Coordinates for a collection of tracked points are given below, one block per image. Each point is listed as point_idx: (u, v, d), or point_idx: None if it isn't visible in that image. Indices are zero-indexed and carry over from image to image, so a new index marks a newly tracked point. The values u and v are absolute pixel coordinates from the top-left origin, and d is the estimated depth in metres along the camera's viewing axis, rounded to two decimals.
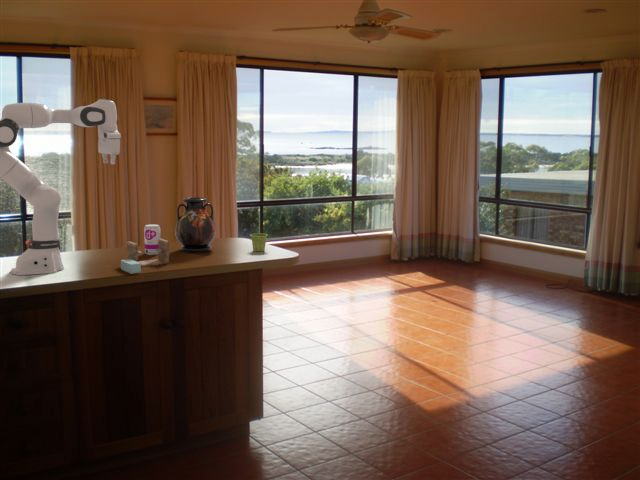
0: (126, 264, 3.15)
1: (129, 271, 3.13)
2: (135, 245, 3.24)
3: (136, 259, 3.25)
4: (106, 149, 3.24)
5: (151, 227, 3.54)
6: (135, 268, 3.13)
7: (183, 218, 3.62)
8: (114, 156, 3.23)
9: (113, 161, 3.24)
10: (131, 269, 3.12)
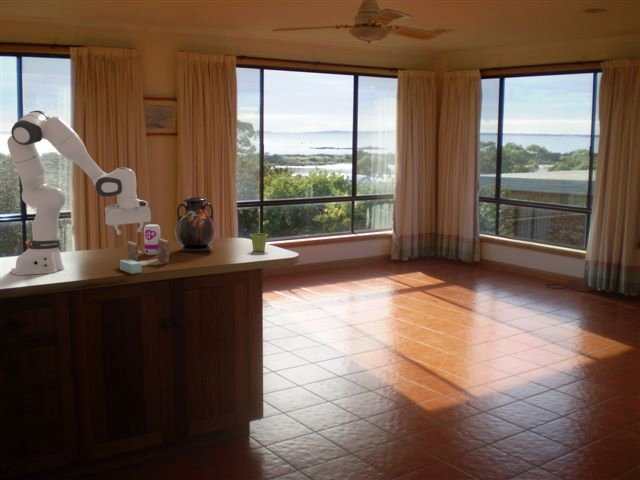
0: (126, 264, 3.15)
1: (130, 271, 3.13)
2: (135, 245, 3.24)
3: (136, 259, 3.25)
4: (135, 218, 3.14)
5: (151, 227, 3.54)
6: (136, 268, 3.13)
7: (183, 218, 3.62)
8: None
9: None
10: (132, 269, 3.12)
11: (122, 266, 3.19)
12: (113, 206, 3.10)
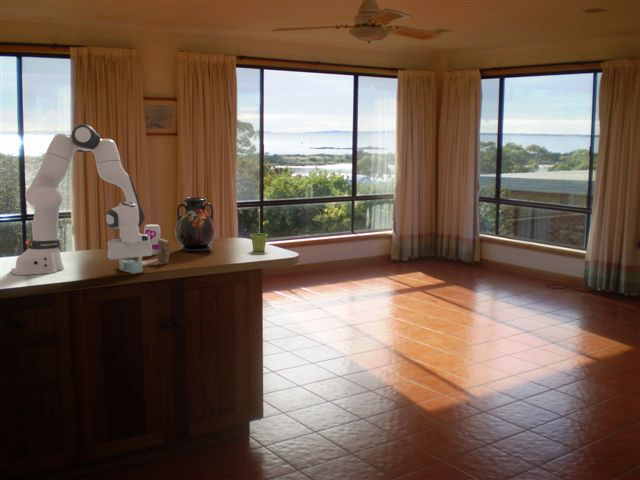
0: (127, 264, 3.15)
1: (131, 271, 3.13)
2: None
3: (136, 259, 3.25)
4: (137, 252, 3.17)
5: (151, 227, 3.54)
6: (137, 268, 3.13)
7: (183, 218, 3.62)
8: None
9: None
10: (134, 269, 3.12)
11: None
12: (116, 240, 3.11)
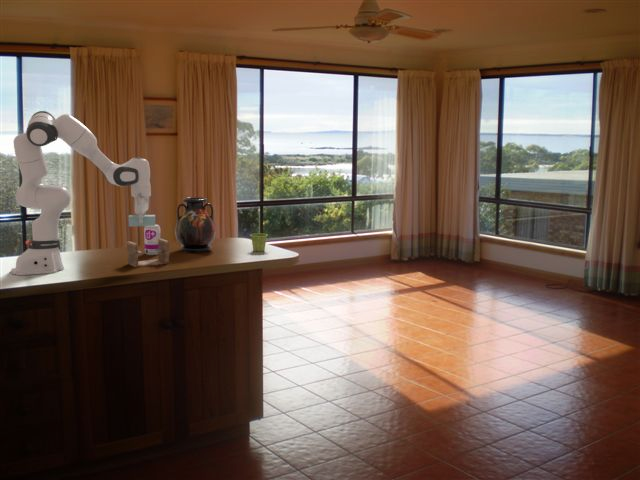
0: (144, 218, 3.22)
1: (152, 223, 3.24)
2: (135, 245, 3.24)
3: (136, 259, 3.25)
4: (146, 206, 3.26)
5: (151, 227, 3.54)
6: None
7: (183, 218, 3.62)
8: None
9: None
10: None
11: (134, 221, 3.21)
12: (140, 195, 3.16)
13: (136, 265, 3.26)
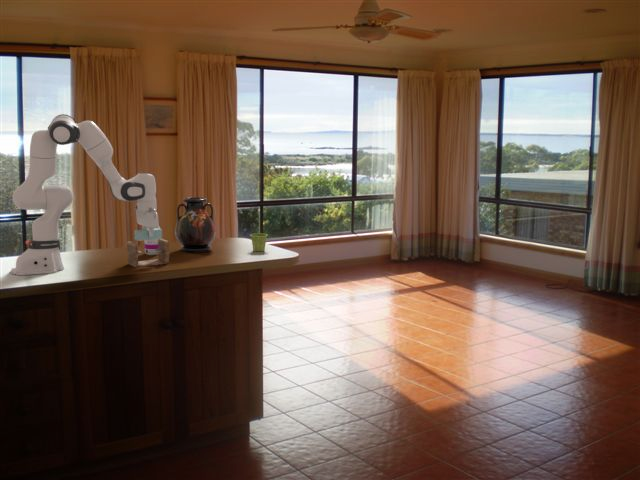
0: (153, 231, 3.29)
1: (159, 236, 3.32)
2: (135, 245, 3.24)
3: (136, 259, 3.25)
4: None
5: None
6: None
7: (183, 218, 3.62)
8: None
9: None
10: None
11: (144, 236, 3.26)
12: None
13: (136, 265, 3.26)
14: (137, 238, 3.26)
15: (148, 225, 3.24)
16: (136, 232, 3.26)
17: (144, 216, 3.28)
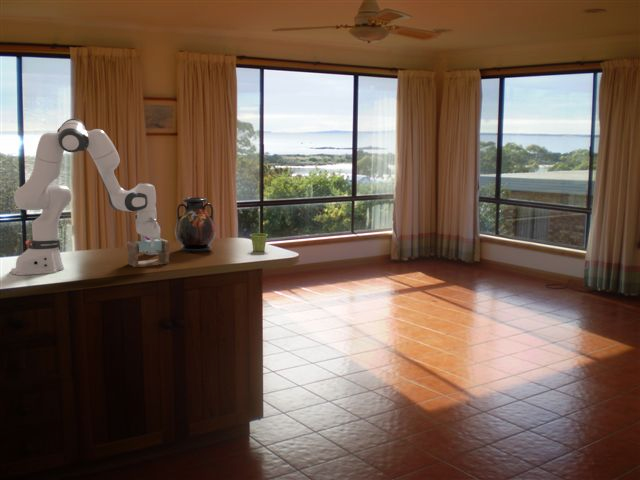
0: None
1: (159, 247, 3.34)
2: (135, 245, 3.24)
3: (136, 259, 3.25)
4: None
5: None
6: None
7: (183, 218, 3.62)
8: None
9: None
10: None
11: (143, 247, 3.29)
12: None
13: (136, 265, 3.26)
14: None
15: (148, 235, 3.26)
16: (136, 243, 3.29)
17: (144, 226, 3.30)
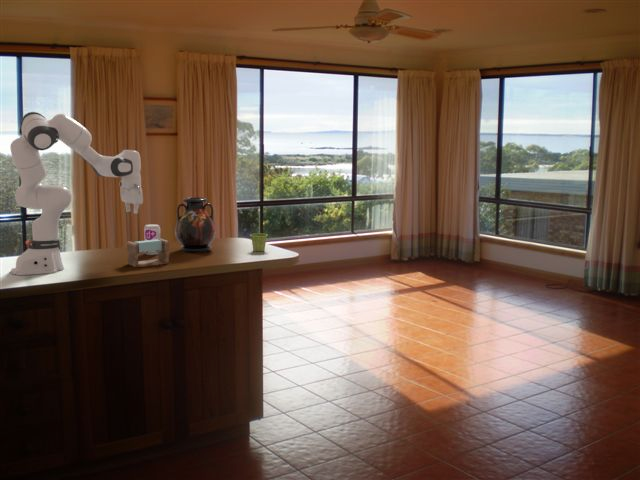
0: (152, 243, 3.31)
1: (159, 247, 3.34)
2: (135, 245, 3.24)
3: (136, 259, 3.25)
4: None
5: (151, 227, 3.54)
6: None
7: (183, 218, 3.62)
8: None
9: None
10: None
11: (143, 247, 3.29)
12: None
13: (136, 265, 3.26)
14: None
15: (132, 201, 3.26)
16: (136, 243, 3.29)
17: (128, 193, 3.30)
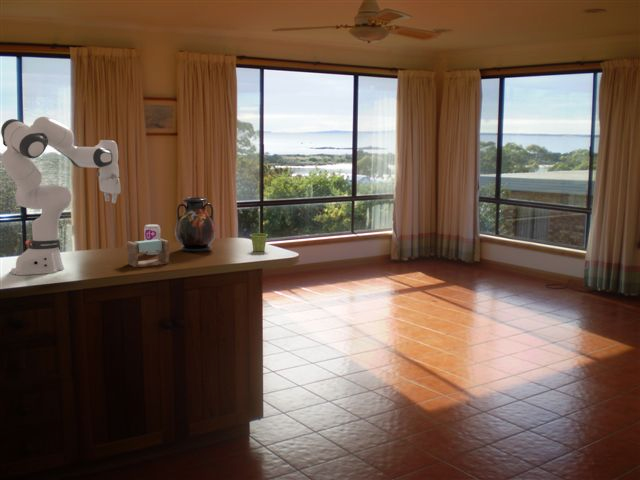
0: (152, 243, 3.31)
1: (159, 247, 3.34)
2: (135, 245, 3.24)
3: (136, 259, 3.25)
4: None
5: (151, 227, 3.54)
6: None
7: (183, 218, 3.62)
8: None
9: None
10: None
11: (143, 247, 3.29)
12: None
13: (136, 265, 3.26)
14: None
15: (110, 191, 3.29)
16: (136, 243, 3.29)
17: (106, 182, 3.33)
